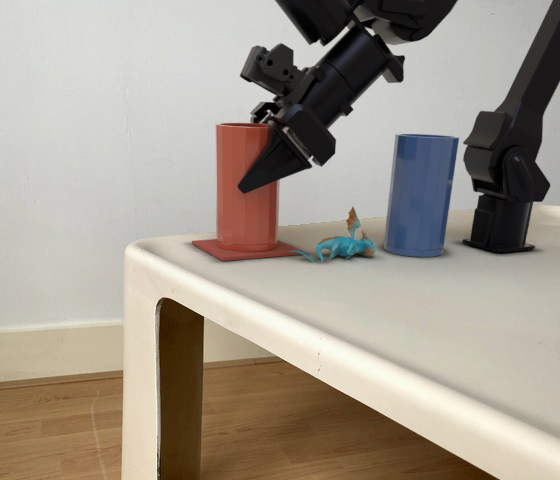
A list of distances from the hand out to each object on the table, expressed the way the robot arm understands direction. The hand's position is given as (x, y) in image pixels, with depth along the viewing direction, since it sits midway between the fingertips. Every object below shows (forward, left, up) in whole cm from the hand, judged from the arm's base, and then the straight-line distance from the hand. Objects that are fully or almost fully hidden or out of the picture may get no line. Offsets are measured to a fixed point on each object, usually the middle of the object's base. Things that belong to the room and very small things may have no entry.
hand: (235, 185), depth 70 cm
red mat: (-1, 0, -7) cm, 7 cm away
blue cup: (-20, +7, -7) cm, 23 cm away
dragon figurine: (-9, +7, -8) cm, 14 cm away
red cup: (-1, 0, -7) cm, 7 cm away
